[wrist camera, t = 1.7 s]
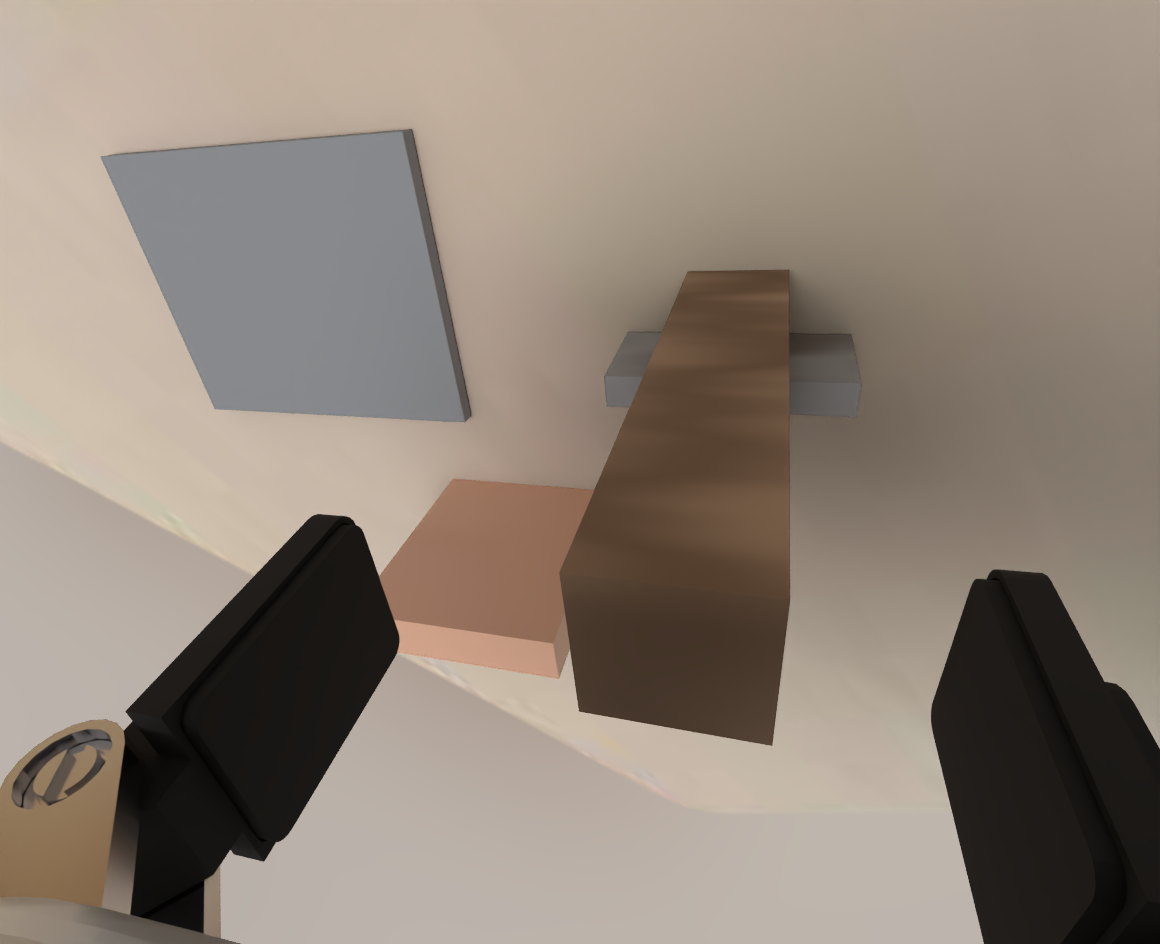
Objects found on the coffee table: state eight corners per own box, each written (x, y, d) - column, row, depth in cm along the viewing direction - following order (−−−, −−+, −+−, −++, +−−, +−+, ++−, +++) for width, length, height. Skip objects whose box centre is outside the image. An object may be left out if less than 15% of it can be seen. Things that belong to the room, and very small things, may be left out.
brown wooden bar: (860, 269, 18) (972, 621, 7) (846, 364, 20) (920, 772, 9) (625, 272, 20) (427, 557, 9) (629, 359, 22) (466, 691, 11)
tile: (612, 491, 25) (553, 643, 19) (614, 525, 26) (559, 681, 20) (453, 478, 27) (351, 613, 21) (461, 511, 28) (365, 649, 22)
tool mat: (411, 129, 20) (402, 131, 19) (471, 415, 25) (464, 422, 25) (114, 154, 23) (100, 156, 22) (224, 402, 28) (214, 408, 28)
